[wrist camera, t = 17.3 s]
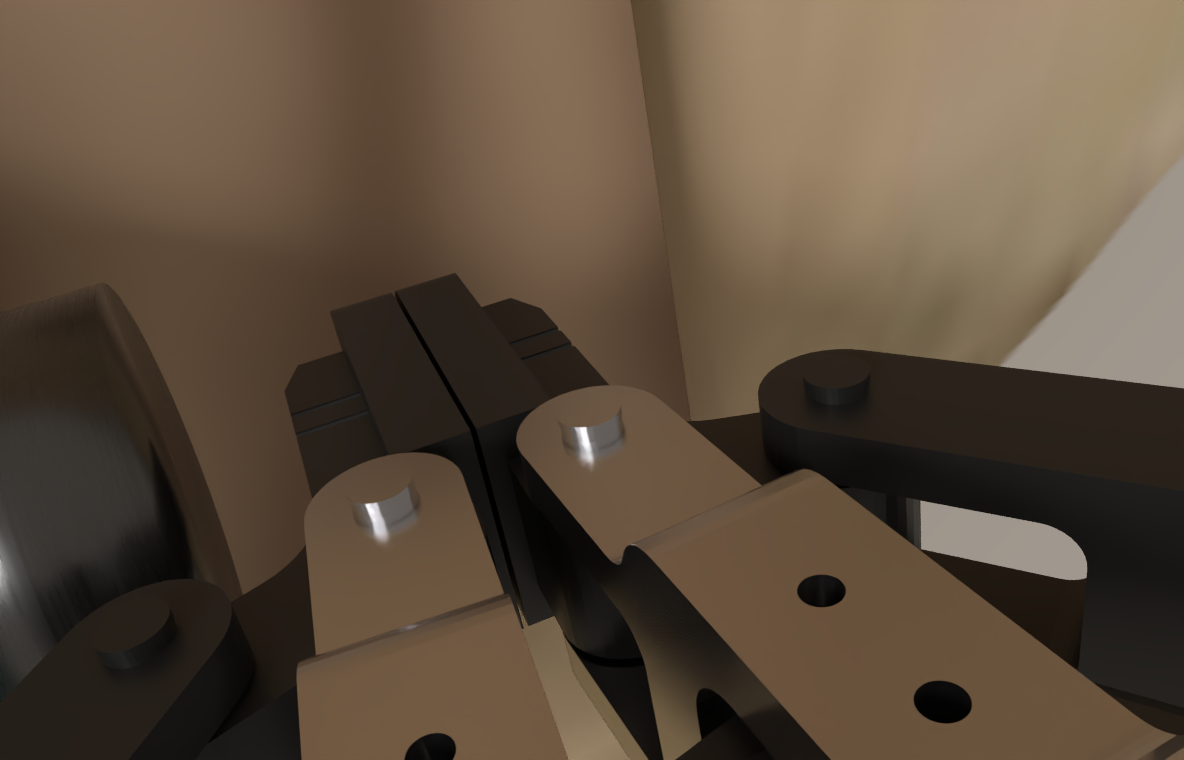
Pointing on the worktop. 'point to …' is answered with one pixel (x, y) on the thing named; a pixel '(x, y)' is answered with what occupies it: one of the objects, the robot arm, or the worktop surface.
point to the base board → (327, 195)
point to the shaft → (91, 475)
